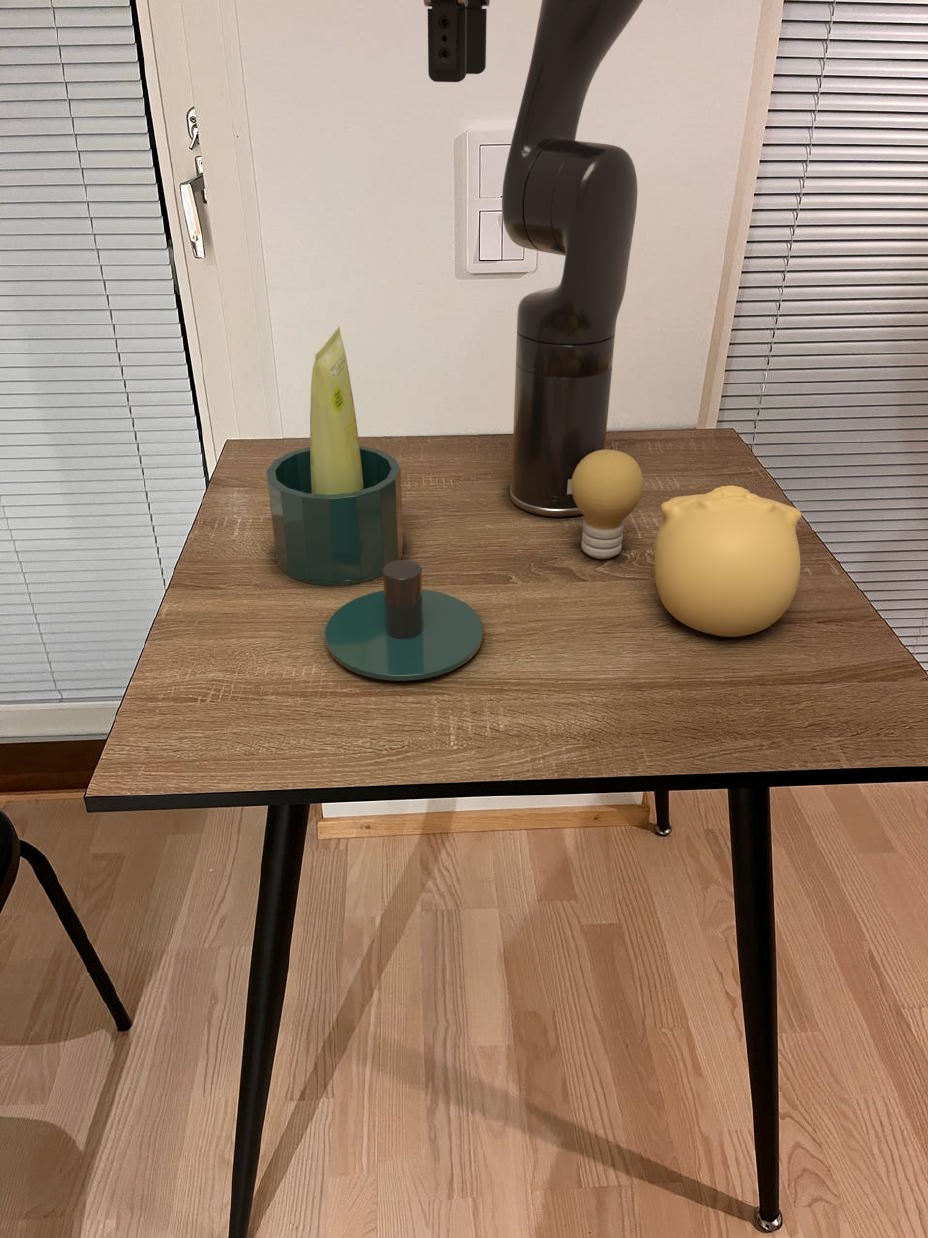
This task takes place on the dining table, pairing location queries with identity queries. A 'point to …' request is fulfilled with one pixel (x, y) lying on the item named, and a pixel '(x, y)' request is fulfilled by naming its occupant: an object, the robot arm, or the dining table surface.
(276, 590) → the dining table surface
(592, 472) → the light bulb
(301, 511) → the pot
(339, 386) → the tube
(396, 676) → the pot lid
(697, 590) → the sculpture
